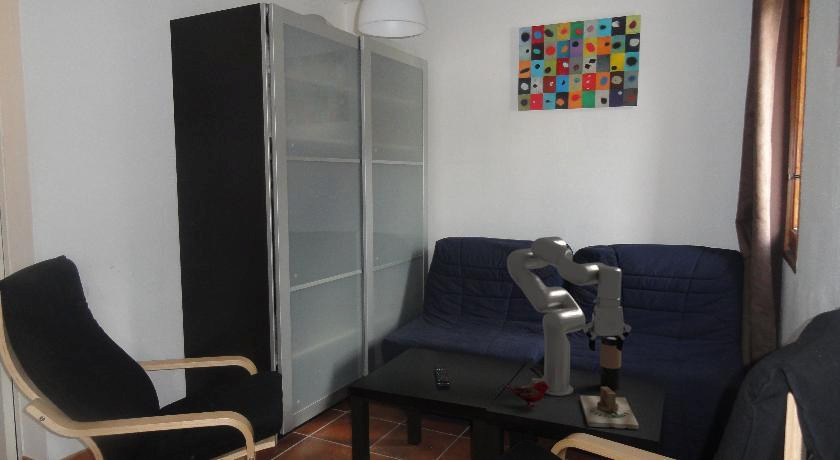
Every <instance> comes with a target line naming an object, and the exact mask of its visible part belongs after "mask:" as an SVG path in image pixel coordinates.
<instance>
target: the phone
mask: <svg viewBox="0 0 840 460" xmlns="http://www.w3.org/2000/svg"><path fill="white" fill-rule="evenodd" d="M530 369H531V370H532V371H533V372H534V373H535V374H537V375H538V376H540V378H543V376H544V365H533V366H532V365H531V366H530Z"/></svg>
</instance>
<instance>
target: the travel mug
mask: <svg viewBox="0 0 840 460" xmlns="http://www.w3.org/2000/svg"><path fill="white" fill-rule="evenodd" d="M600 337H601V342H600V363H599V365H600V366H599V367H600V368H599V369H600V379H599V380H600V382H599V383H600V388H601V387H608V388H609V389H611V390H612V391H617V390H620V386H621V372H622V371H621V370H622V369H621V368H622V351H619V350H618V349H617V348H616V341H617V337H618V336H600Z"/></svg>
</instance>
